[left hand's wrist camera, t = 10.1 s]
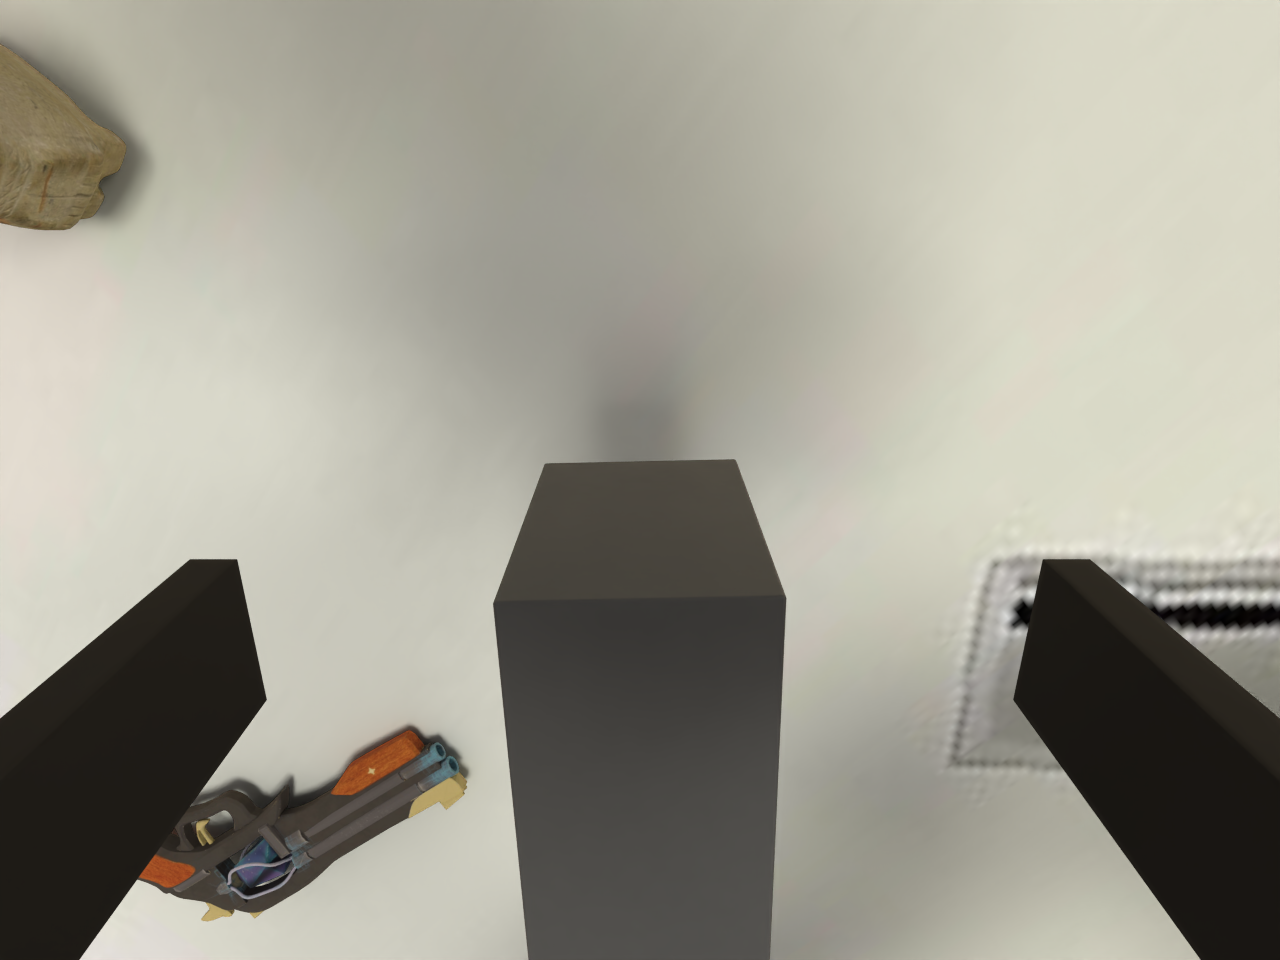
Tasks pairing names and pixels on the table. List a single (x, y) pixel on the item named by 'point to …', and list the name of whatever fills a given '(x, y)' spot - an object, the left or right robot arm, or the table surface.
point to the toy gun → (300, 829)
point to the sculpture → (48, 152)
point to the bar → (643, 712)
